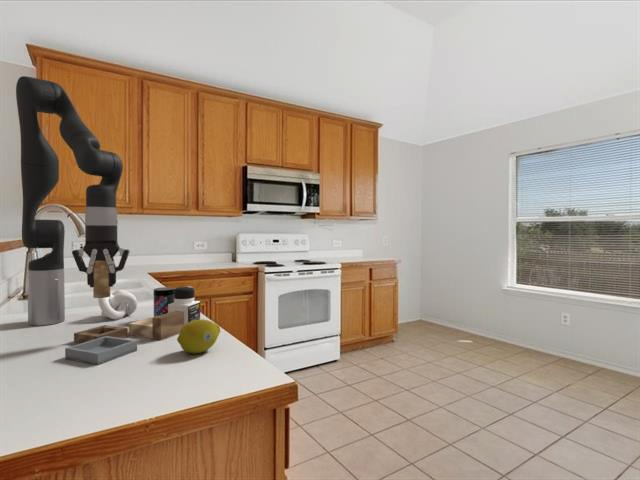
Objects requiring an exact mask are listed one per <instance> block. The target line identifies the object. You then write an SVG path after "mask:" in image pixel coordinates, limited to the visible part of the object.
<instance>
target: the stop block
mask: <svg viewBox="0 0 640 480" xmlns="http://www.w3.org/2000/svg"><path fill="white" fill-rule="evenodd" d="M183 326H184V312H182V311H174V312H170V313H167V314H163V315H160V316H156V317H154V316H153V317H152V327H153V338H152V340H156V341H163V340H165V339H167V338H168V339H169V338H171V337H174V336H177V335H179V334H180V331H181V329H182V328H183Z"/></svg>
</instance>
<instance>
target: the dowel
mask: <svg viewBox="0 0 640 480" xmlns="http://www.w3.org/2000/svg"><path fill="white" fill-rule="evenodd" d="M109 273H110V270H109V266H108V265H107V261H95V263H94V268H93V287H92V288H93V291H92V292H93V293H92V295H93V296H92V297H93V299H99V298H106V297H110V294H111V287H109Z"/></svg>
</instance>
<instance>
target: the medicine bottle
mask: <svg viewBox="0 0 640 480" xmlns="http://www.w3.org/2000/svg"><path fill="white" fill-rule="evenodd" d="M174 301H175V302H174V303H171V304H168V313H170V312H174V311H182V312H184V325H185V324H187V323H189V322H191V321H194V320H201V301H200V300H195V288H194V287H193V286H179V287H176V288H175V290H174Z"/></svg>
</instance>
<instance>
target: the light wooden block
mask: <svg viewBox="0 0 640 480" xmlns="http://www.w3.org/2000/svg"><path fill="white" fill-rule="evenodd" d="M152 318H153V317H152V316H150V317H147V318H143V319H140V320H136V321H133V322H129V323H128V335H133V336H137V337H146V338H151V339H153V327H152Z"/></svg>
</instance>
